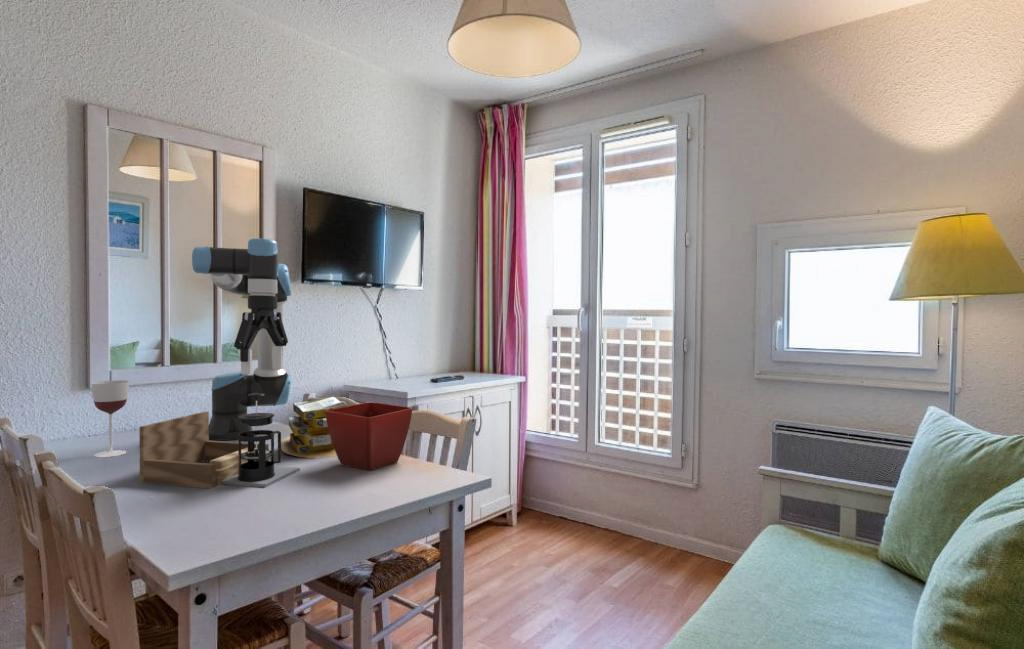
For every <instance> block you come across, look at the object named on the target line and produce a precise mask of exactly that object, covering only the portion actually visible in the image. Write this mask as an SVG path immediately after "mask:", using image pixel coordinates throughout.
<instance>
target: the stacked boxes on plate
mask: <svg viewBox="0 0 1024 649" xmlns="http://www.w3.org/2000/svg"><path fill="white" fill-rule="evenodd" d="M292 404H293V407H292V408H293V413H295V414H296V415H298V416H295V415H289V414H288V426H289V428H290V430H291V433H290V434H289V436H286V437H285V438H283V439H281V452H283V453H285V454H287V455H290V456H295V457H299V458H307V459H308V458H309V459H313V458H315V459H318V458H325V457H326V458H327V457H335V456H337V454H336V452H335V449H334V446H333V443H332V440H331V437H330V433H329V429H328V425H327V421H326V415H325V410H330V409H335V408H340V407H346V406H348V405H347V403H346V401H345V400H344V401H343V400H340V399H339V398H336V397H335V396H331V397H327V398H322V399H321V398H320V399H316V400H315V399H313V400H310V401H300V402H294V403H292Z"/></svg>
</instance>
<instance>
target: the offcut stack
mask: <svg viewBox="0 0 1024 649" xmlns="http://www.w3.org/2000/svg"><path fill="white" fill-rule="evenodd" d="M255 449H256V448H254V450H255ZM257 449H258V448H257ZM247 451H248V448H245V449H242V450H241V453H244V452H247ZM254 461H255V459H254ZM246 462H248V459H241V464H243V463H246ZM209 464H215V486H220V485H223V484H222V481H223V480H225V479H228V478H230V477H232V476H235V475H237V474H238V451H236V452H233V453H230V454H228V455H225V456H222V457H219V458H216V459H213V460H210V461H209Z"/></svg>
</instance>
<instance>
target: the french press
mask: <svg viewBox="0 0 1024 649" xmlns="http://www.w3.org/2000/svg"><path fill="white" fill-rule="evenodd" d="M263 395H265V394H263V393H253V394H249V395H248V396H255V401H256V406H255V412H254V413H253V412H252V413H247V414H245V415H241V416H239V417H238V418H239V419H240V420H241V422H242V423H246V424H247V425H249V426H251V427H255V429H254V430H252V431H247V432H242V433H240V434H238V439H237V442H238V480H240V481H244V482H255V481H262V480H267V479H270V478H272V477H274V476H275V472H274V466H275V465H276V464H281V462H282V450H281V441H282V432H281V431H280V430H275V431H273V430H269V429H258V427H263V426H267V425H268V426H269V425H271V424H273V417H275V414H274V413H270V412H258V406H257V401H258V397H259V396H263ZM275 434H277V460H275ZM246 436H248V437H246ZM269 440H270V450H266V442H267V441H269ZM241 443H248V451H247V452H244V453H241ZM254 443H255V444H256V449H255V450H254ZM257 444H259V450H258V449H257ZM267 457H270V460H269V461H266V458H267ZM241 459H248V462H246V463H243V464H241ZM254 459H259V461H254Z"/></svg>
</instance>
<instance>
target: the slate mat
mask: <svg viewBox="0 0 1024 649" xmlns="http://www.w3.org/2000/svg"><path fill="white" fill-rule="evenodd" d="M300 470H301V467H294V466H281V465H280V466H279V465H274V472H275V476H274V477H272V478H270V479H267V480H262V481H255V482H244V481H240V480H238V474H237V475H235V476H232V477H230V478H228V479H225V480H223V481H222V484H221V485H232V486H233V485H234V486H244V487H245V486H246V487H247V486H248V487H255V488H257V487H258V488H267V487H269V486H272V485H273V484H275V483H278V482H279V481H281V480H284V479H286V478H288V477H289V476H292V475H294V474H296V473H297V472H300Z"/></svg>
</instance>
